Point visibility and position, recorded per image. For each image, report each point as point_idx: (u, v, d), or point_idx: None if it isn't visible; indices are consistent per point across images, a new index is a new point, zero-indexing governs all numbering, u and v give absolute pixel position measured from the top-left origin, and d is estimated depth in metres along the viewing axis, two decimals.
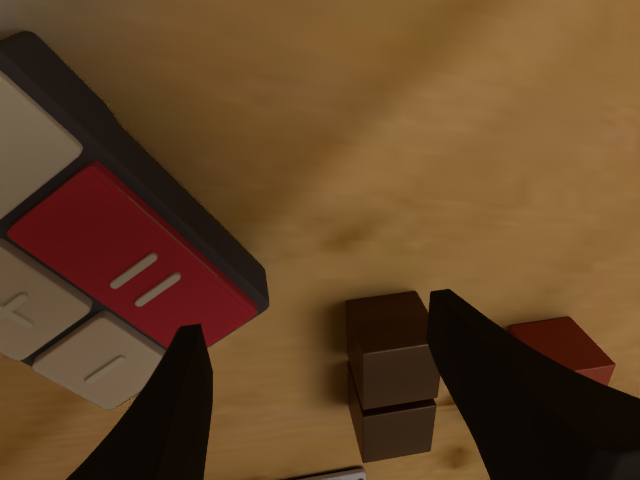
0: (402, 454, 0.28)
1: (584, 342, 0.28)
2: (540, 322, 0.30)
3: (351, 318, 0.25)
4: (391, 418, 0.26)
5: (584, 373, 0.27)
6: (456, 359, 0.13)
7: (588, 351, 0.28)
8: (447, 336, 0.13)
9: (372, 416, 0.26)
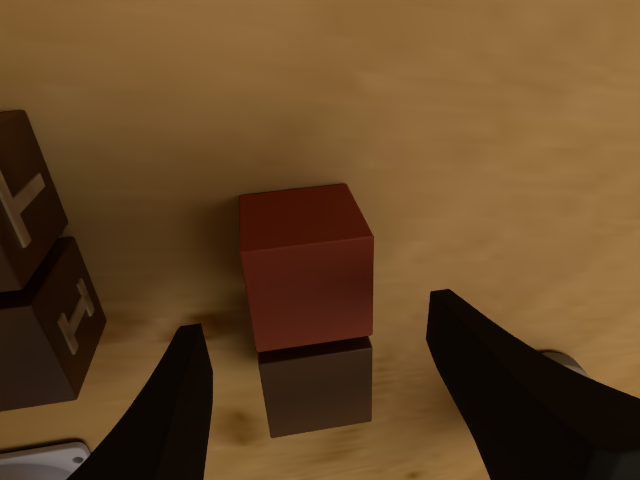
0: (20, 404, 0.16)
1: (343, 210, 0.16)
2: (292, 190, 0.18)
3: None
4: None
5: (315, 251, 0.15)
6: (456, 359, 0.13)
7: (340, 220, 0.16)
8: (447, 336, 0.13)
9: None
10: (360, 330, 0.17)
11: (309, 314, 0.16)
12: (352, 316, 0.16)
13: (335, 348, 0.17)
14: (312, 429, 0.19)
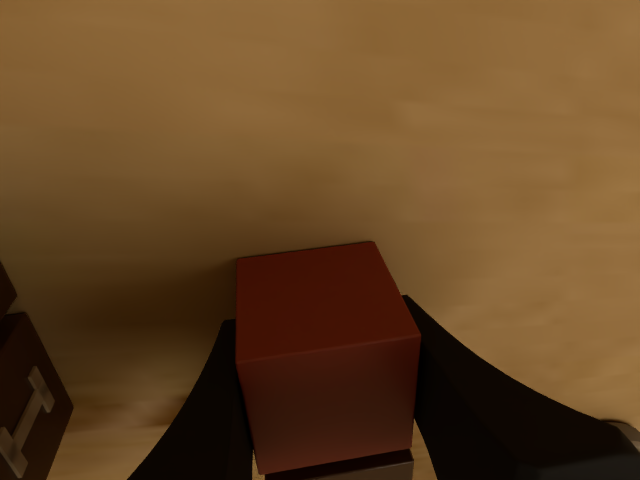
0: None
1: (374, 288, 0.12)
2: (305, 251, 0.14)
3: None
4: None
5: (340, 357, 0.11)
6: None
7: (372, 305, 0.12)
8: None
9: None
10: (396, 444, 0.13)
11: (329, 429, 0.12)
12: (387, 429, 0.12)
13: (365, 461, 0.13)
14: None
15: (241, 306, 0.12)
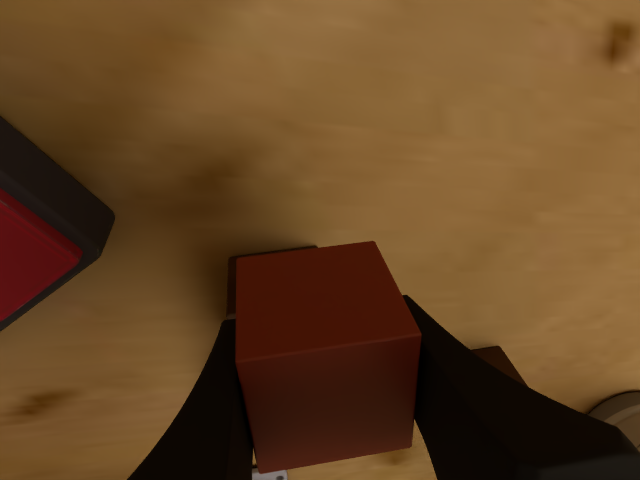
0: None
1: (374, 287, 0.12)
2: (305, 251, 0.14)
3: (228, 276, 0.20)
4: None
5: (341, 356, 0.11)
6: None
7: (372, 304, 0.12)
8: None
9: None
10: (396, 443, 0.13)
11: (330, 428, 0.12)
12: (387, 428, 0.12)
13: None
14: None
15: (241, 305, 0.12)
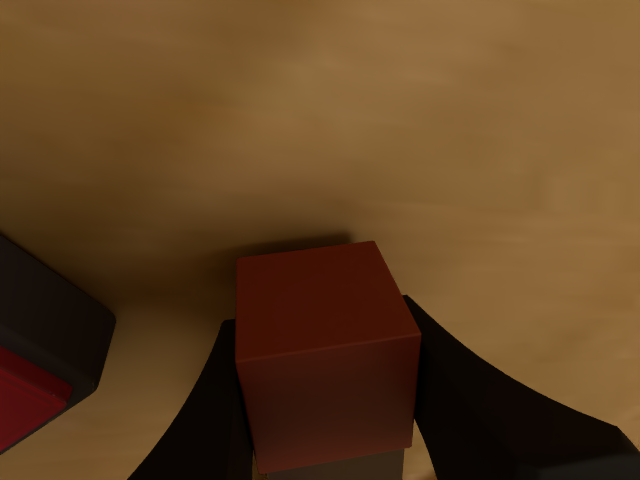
0: None
1: (374, 287, 0.12)
2: (305, 250, 0.14)
3: None
4: None
5: (340, 356, 0.11)
6: None
7: (372, 304, 0.12)
8: None
9: None
10: (396, 443, 0.13)
11: (330, 428, 0.12)
12: (387, 428, 0.12)
13: None
14: None
15: (241, 305, 0.12)
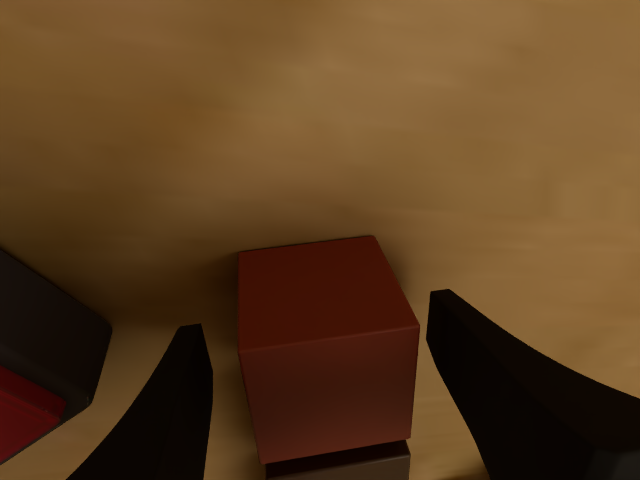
0: None
1: (374, 280, 0.12)
2: (306, 245, 0.14)
3: None
4: None
5: (341, 347, 0.11)
6: (456, 359, 0.13)
7: (372, 297, 0.12)
8: (447, 336, 0.13)
9: None
10: (395, 434, 0.13)
11: (330, 418, 0.12)
12: (386, 419, 0.12)
13: None
14: None
15: (243, 298, 0.12)
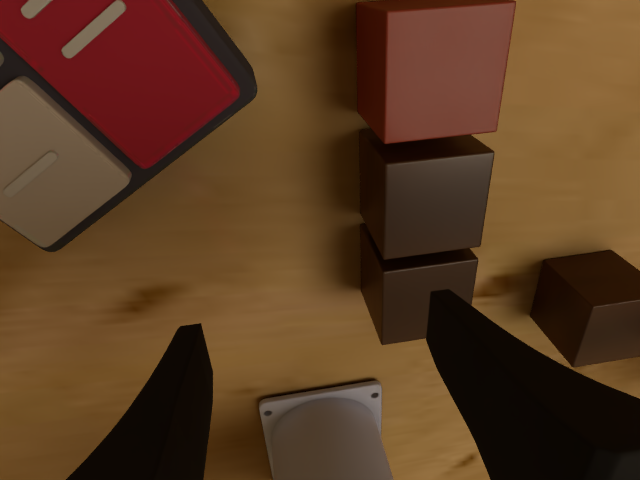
0: None
1: None
2: None
3: (367, 141, 0.19)
4: (419, 275, 0.20)
5: (458, 16, 0.15)
6: (456, 359, 0.13)
7: (474, 0, 0.16)
8: (447, 337, 0.13)
9: (395, 271, 0.20)
10: (486, 123, 0.17)
11: (441, 97, 0.16)
12: (481, 104, 0.16)
13: None
14: (603, 361, 0.25)
15: (375, 6, 0.16)
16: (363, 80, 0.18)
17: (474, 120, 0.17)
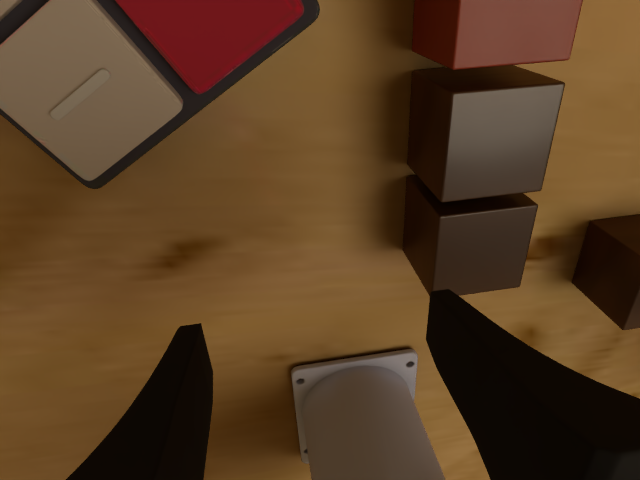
0: (484, 288, 0.21)
1: None
2: None
3: (424, 78, 0.18)
4: (476, 221, 0.19)
5: None
6: (456, 359, 0.13)
7: None
8: (447, 336, 0.13)
9: (452, 216, 0.19)
10: (560, 50, 0.16)
11: (516, 17, 0.15)
12: (556, 28, 0.15)
13: None
14: None
15: None
16: (424, 10, 0.17)
17: (548, 45, 0.16)
